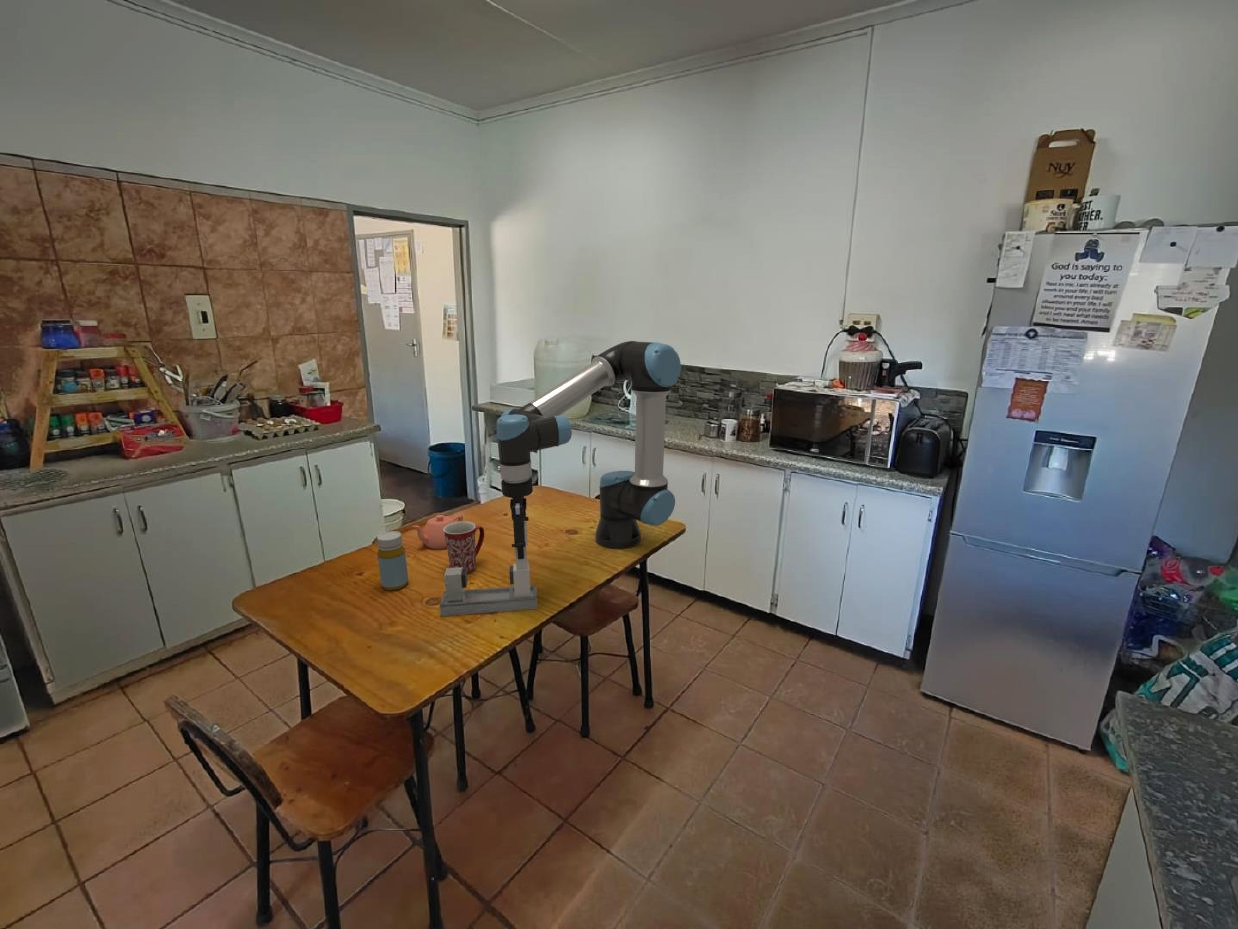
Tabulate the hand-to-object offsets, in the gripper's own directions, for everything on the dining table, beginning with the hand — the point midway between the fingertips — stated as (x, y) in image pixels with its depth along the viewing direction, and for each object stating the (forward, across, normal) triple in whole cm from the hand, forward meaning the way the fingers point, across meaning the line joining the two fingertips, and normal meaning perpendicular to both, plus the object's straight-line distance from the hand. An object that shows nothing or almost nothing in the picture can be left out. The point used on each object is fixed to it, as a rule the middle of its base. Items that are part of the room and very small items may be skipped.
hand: (522, 556), depth 143 cm
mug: (+13, -23, -17) cm, 31 cm away
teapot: (+13, -42, -28) cm, 52 cm away
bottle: (+13, -15, -36) cm, 41 cm away
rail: (+13, 0, -9) cm, 16 cm away
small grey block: (+11, 0, -1) cm, 11 cm away
